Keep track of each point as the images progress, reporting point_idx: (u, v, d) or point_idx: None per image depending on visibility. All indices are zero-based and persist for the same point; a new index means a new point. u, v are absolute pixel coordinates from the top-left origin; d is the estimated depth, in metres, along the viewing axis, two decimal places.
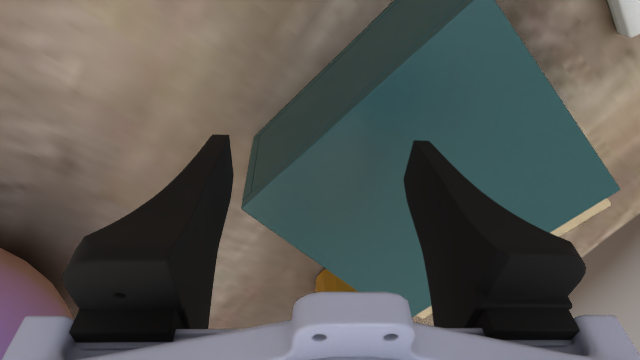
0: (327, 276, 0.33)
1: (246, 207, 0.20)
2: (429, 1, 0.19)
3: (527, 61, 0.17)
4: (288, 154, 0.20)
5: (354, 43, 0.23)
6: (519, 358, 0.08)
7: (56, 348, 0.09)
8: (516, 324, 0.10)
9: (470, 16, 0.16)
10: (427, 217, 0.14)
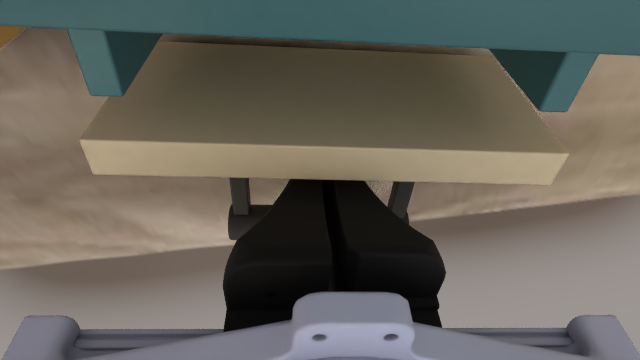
0: None
1: None
2: None
3: None
4: None
5: None
6: (519, 358, 0.08)
7: (56, 348, 0.09)
8: None
9: None
10: (328, 215, 0.14)
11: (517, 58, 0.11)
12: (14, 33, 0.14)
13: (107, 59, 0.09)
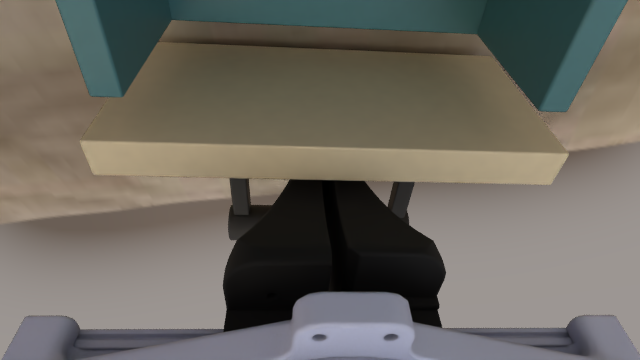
0: None
1: None
2: None
3: None
4: None
5: None
6: (519, 358, 0.08)
7: (56, 348, 0.09)
8: None
9: None
10: (328, 215, 0.14)
11: (517, 58, 0.11)
12: None
13: (107, 60, 0.09)
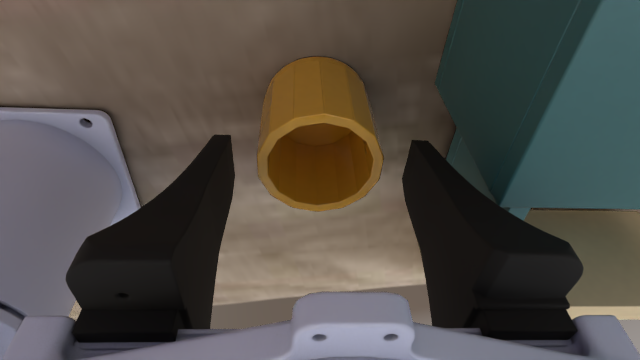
0: (328, 66, 0.17)
1: None
2: None
3: None
4: None
5: None
6: (519, 358, 0.08)
7: (56, 348, 0.09)
8: (514, 324, 0.10)
9: None
10: (425, 217, 0.14)
11: None
12: None
13: None
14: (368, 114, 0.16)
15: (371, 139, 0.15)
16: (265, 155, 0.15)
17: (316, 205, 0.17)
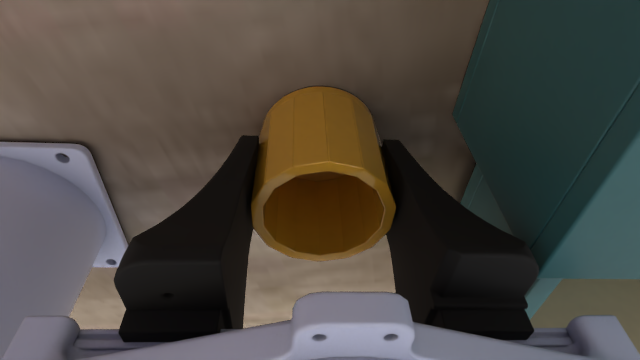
0: (332, 99, 0.15)
1: None
2: None
3: None
4: None
5: None
6: (519, 358, 0.08)
7: (56, 348, 0.09)
8: (470, 324, 0.10)
9: None
10: (394, 217, 0.14)
11: None
12: None
13: None
14: (378, 156, 0.14)
15: (382, 187, 0.13)
16: (260, 205, 0.13)
17: (318, 255, 0.15)
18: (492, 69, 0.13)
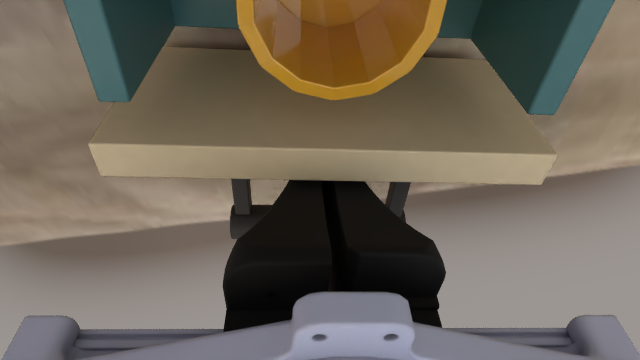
0: None
1: None
2: None
3: None
4: None
5: None
6: (519, 358, 0.08)
7: (56, 348, 0.09)
8: None
9: None
10: (328, 215, 0.14)
11: (508, 63, 0.12)
12: None
13: (115, 67, 0.10)
14: None
15: None
16: None
17: (333, 88, 0.11)
18: None
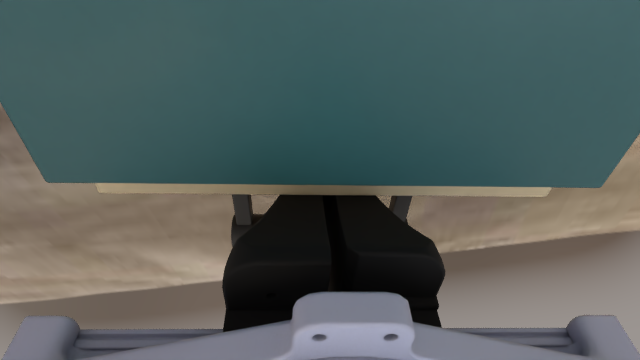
0: None
1: None
2: None
3: None
4: None
5: None
6: (519, 358, 0.08)
7: (56, 348, 0.09)
8: None
9: None
10: (327, 215, 0.14)
11: None
12: None
13: None
14: None
15: None
16: None
17: None
18: None
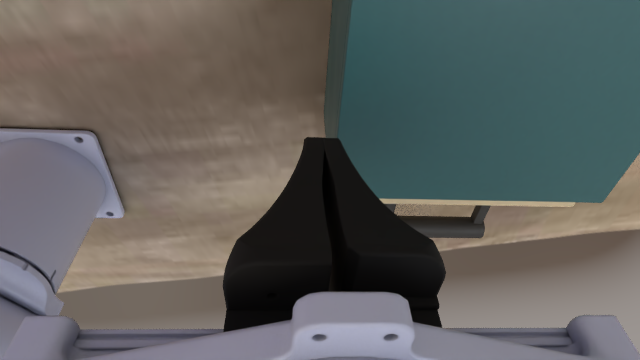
0: None
1: None
2: None
3: None
4: None
5: None
6: (519, 358, 0.08)
7: (56, 348, 0.09)
8: None
9: None
10: (328, 216, 0.14)
11: None
12: None
13: None
14: None
15: None
16: None
17: None
18: (328, 86, 0.23)
